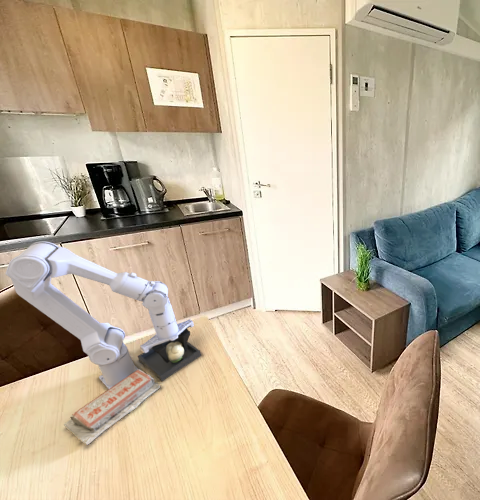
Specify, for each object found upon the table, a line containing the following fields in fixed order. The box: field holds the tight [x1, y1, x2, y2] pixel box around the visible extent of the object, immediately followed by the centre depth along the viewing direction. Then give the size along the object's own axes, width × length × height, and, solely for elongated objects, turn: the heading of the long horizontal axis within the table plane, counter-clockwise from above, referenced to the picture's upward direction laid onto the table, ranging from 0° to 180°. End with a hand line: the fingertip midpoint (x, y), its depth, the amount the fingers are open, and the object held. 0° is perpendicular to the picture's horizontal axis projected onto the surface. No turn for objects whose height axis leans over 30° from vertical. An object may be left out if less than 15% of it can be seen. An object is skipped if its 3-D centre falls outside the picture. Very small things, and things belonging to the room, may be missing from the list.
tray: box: [137, 338, 202, 382], centre depth 92 cm, size 14×12×2 cm
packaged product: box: [63, 368, 161, 446], centre depth 75 cm, size 18×5×10 cm
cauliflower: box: [166, 342, 184, 363], centre depth 89 cm, size 5×5×6 cm
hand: (175, 355), depth 90 cm, fingers closed on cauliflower, 5 cm apart
